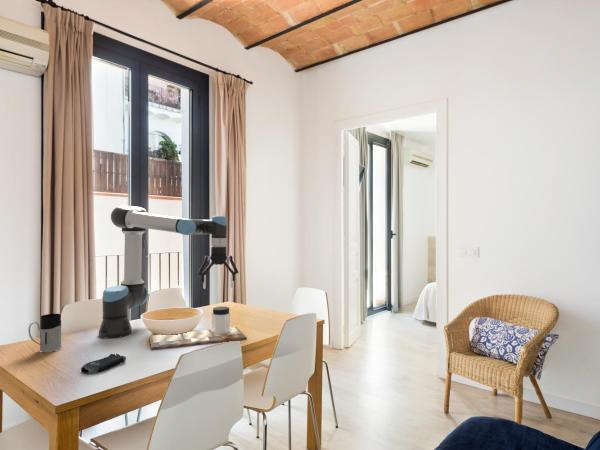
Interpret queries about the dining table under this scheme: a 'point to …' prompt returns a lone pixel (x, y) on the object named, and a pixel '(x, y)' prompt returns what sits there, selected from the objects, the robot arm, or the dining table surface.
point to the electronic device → (103, 364)
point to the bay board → (194, 338)
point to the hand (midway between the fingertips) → (218, 288)
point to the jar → (220, 320)
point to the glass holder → (49, 332)
